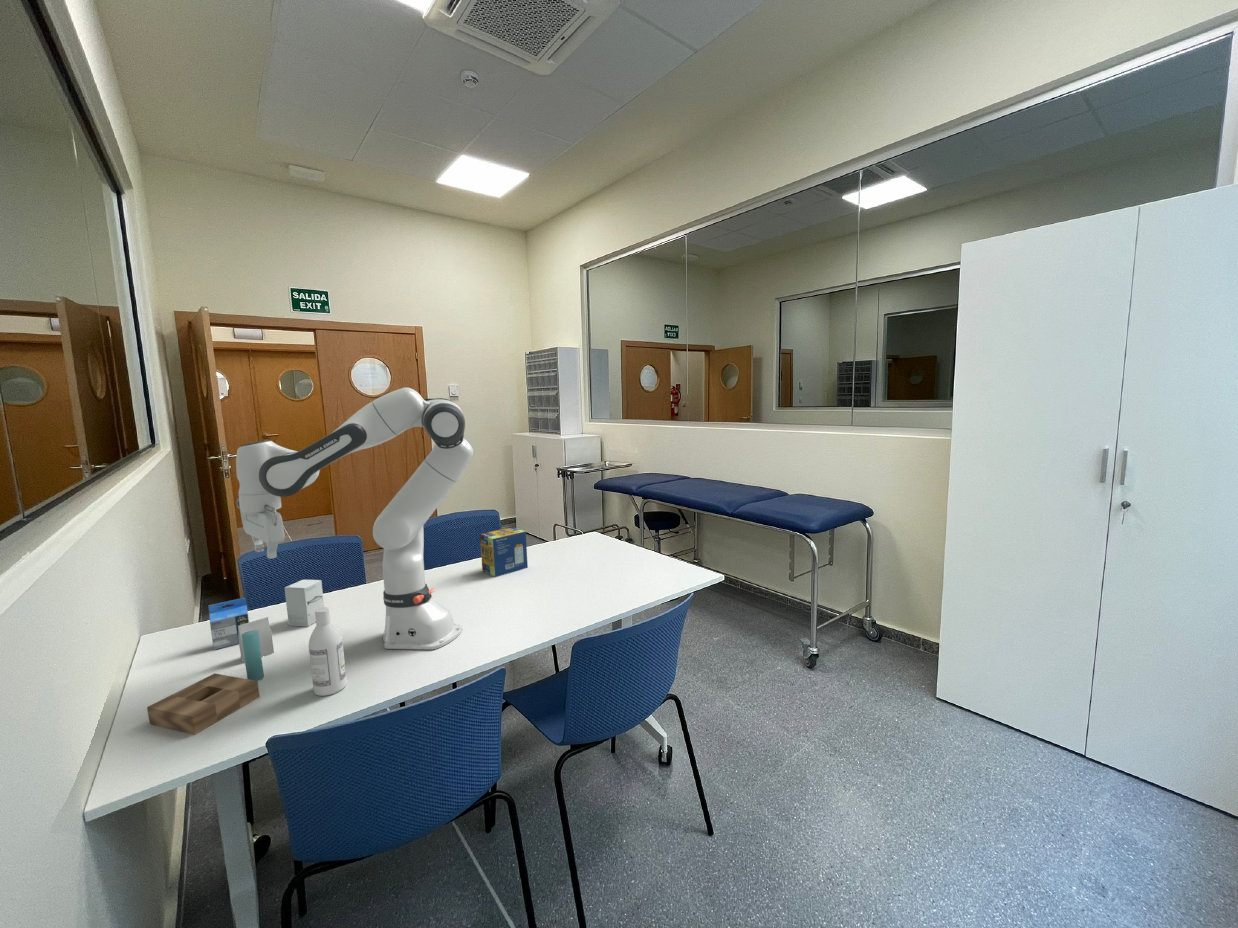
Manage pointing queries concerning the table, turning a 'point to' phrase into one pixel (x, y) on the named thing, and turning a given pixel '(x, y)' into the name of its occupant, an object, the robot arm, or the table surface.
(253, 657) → the peg
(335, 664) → the bath foam
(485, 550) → the protein box
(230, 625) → the label tape box
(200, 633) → the table surface
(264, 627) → the white carton
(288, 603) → the supplement box
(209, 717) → the socket block
